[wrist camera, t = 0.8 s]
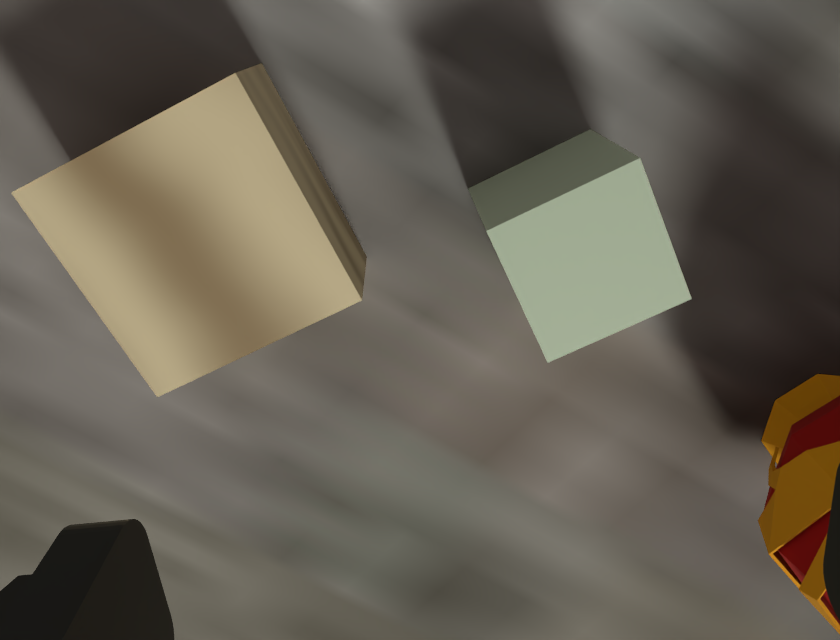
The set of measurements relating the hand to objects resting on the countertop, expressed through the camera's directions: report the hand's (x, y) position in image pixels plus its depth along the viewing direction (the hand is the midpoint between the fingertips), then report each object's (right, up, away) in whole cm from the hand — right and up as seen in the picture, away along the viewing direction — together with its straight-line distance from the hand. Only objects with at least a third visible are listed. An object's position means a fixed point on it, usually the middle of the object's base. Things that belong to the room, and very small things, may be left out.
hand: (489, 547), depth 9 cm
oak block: (-8, +7, +20) cm, 22 cm away
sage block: (+4, +7, +20) cm, 22 cm away
